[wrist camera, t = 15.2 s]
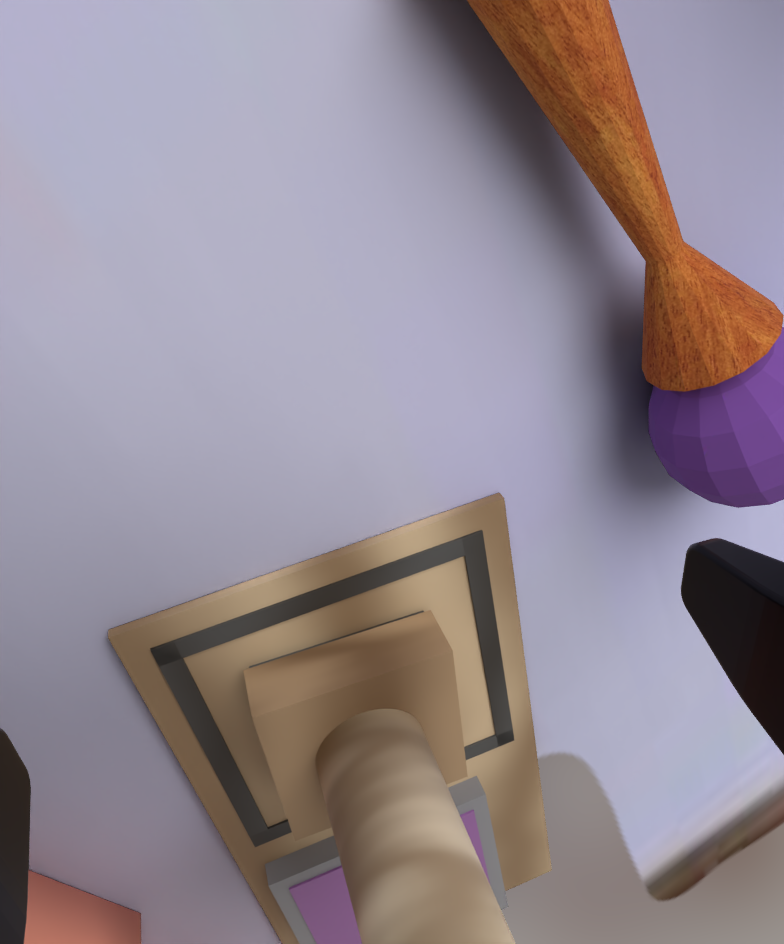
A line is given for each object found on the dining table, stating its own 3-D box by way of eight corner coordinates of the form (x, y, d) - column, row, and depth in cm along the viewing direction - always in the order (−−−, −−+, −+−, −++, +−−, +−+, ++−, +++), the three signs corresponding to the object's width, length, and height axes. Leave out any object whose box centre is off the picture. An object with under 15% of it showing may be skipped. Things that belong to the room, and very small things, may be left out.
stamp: (283, 785, 29) (397, 1326, 17) (242, 664, 25) (348, 1242, 13) (444, 727, 30) (661, 1188, 18) (427, 604, 27) (685, 1077, 14)
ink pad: (320, 968, 36) (325, 991, 36) (264, 864, 31) (268, 888, 30) (500, 888, 38) (508, 908, 37) (476, 775, 33) (486, 796, 32)
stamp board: (302, 973, 37) (304, 983, 37) (108, 629, 23) (108, 639, 23) (548, 863, 39) (552, 872, 39) (499, 492, 26) (505, 499, 25)
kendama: (674, -304, 13) (915, 438, 23) (501, -154, 18) (758, 398, 28) (443, -99, 13) (790, 570, 22) (333, -6, 18) (654, 505, 28)
